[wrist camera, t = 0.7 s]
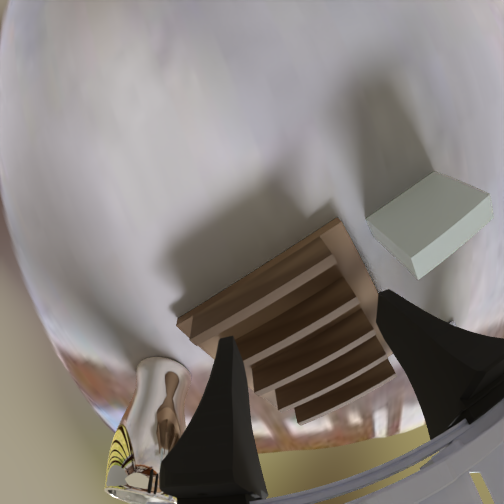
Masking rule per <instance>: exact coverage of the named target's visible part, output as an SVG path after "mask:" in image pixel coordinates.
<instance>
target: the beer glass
mask: <svg viewBox="0 0 504 504" xmlns="http://www.w3.org/2000/svg"><path fill="white" fill-rule="evenodd" d="M190 384H191V375H190V373H189V371H188V370H187V369H186V368H185V367H184V366H183V365H181V364H180V363H178V362H176V361H174V360H172V359H169V358H164V357H149V358H146V359H144V360H142V361H141V362H140V363H139V364H138V366H137V371H136V386H135V391H134V394H133V397H132V399H131V401H130V403H129V406H128V407H127V409H126V411H125V413H124V415H123V417H122V419H121V421H120V423H119V425H118V428H117V430H116V432H115V435H114V437H113V441H112V444H111V448H110V452H109V457H108V463H107V471H106V481H105V488H104V490H105V492H106V493H107V494H109V495H110V496H112V497H114V498H117V499H119V500H121V501H124V502H127V503H130V504H146V503H147V502H165V503H176V504H177V498H175V497H173V496H170V495H168V494H166V493H164V492H162V491H161V490H160V489H159V472H160V466H161V461H162V460H163V459H164V458H165V457H166V455H167V454H168V453H169V452H170V450H171V449H172V448H173V447H174V445H175V444H176V443H177V441H178V440H179V438H180V437H181V435H182V434H183V432H184V431H185V429H186V424H185V414H184V405H185V399H186V395H187V392H188V390H189V387H190Z"/></svg>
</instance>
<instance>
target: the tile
mask: <svg viewBox="0 0 504 504" xmlns="http://www.w3.org/2000/svg"><path fill="white" fill-rule="evenodd" d="M493 217H494V216H493V209H492V202H491V196H490V194H489V193H487V192H485V191H482V190H480V189H478V188H475V187H473V186H471V185H468V184H466V183H464V182H461V181H459V180H456V179H454V178H451V177H449V176H446V175H443V174H441V173H438V172H435V171H434V172H432V173H431V174H429V175H428V176H427V177H425V178H424V179H422V180H421V181H420V182H418V183H417V184H415V185H414V186H413V187H411V188H410V189H408V190H407V191H405V192H404V193H402V194H401V195H400V196H398V197H397V198H395V199H394V200H392V201H391V202H389V203H388V204H387V205H385V206H384V207H382V208H381V209H379V210H378V211H376V212H375V213H373V214H372V215H370V216H369V217H367V218H366V221H367V223H368V226H369V228H370V230H371V232H372V234H373V236H374V238H375V239H376V240H377V241H378V242H379V243H380V244H382V245H383V246H384V247H385V248H386V249H387V250H388V251H389V252H390V253H391V254H392V255H393V256H394V257H395V258H396V259H397V260H398V261H399V262H400V263H401V264H402V265H403V266H404V267H405V268H406V269H407V270H408V271H409V272H410V273H411V274H412V275H413V276H414V277H415V278H416V279H417V280H419V279H420V278H422V277H423V276H424V275H426V274H427V273H428V272H430V271H431V270H432V269H434V268H435V267H436V266H438V265H439V264H440V263H441V262H443V261H444V260H445V259H446V258H448V257H449V256H450V255H451V254H453V253H454V252H455V251H456V250H457V249H459V248H460V247H461V246H462V245H463V244H465V243H466V242H467V241H468V240H469V239H470V238H471V237H473V236H474V235H475V234H476V233H477V232H478V231H479V230H481V229H482V228H483V227H484V226H485V225H486V224H487V223H488V222H489V221H490V220H491V219H492V218H493Z"/></svg>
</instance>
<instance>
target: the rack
mask: <svg viewBox="0 0 504 504" xmlns="http://www.w3.org/2000/svg"><path fill="white" fill-rule="evenodd" d="M377 305H378V292H377V290H376V288H375V286H374V284H373V282H372V280H371V278H370V275H369V273H368V271H367V269H366V267H365V265H364V263H363V261H362V259H361V257H360V255H359V253H358V251H357V249H356V248H355V246H354V244H353V242H352V240H351V238H350V236H349V234H348V232H347V231H346V229H345V227H344V225H343V223H342V221H340V220H339V219H338V218H335V219H334V220H332V221H331V222H329V223H328V224H326V225H325V226H323V227H321V228H320V229H318V230H317V231H315V232H314V233H312V234H311V235H309V236H308V237H306V238H305V239H303V240H301V241H300V242H298V243H297V244H295V245H294V246H292V247H291V248H289V249H288V250H286V251H284V252H283V253H281V254H280V255H278V256H277V257H275V258H274V259H272V260H270V261H269V262H267V263H266V264H264V265H263V266H261V267H259V268H258V269H256V270H255V271H253V272H252V273H250V274H248V275H247V276H245V277H244V278H242V279H240V280H239V281H237V282H236V283H234V284H233V285H231V286H229V287H228V288H226V289H225V290H223V291H221V292H220V293H218V294H217V295H215V296H213V297H212V298H210V299H209V300H207V301H205V302H204V303H202V304H201V305H199V306H197V307H196V308H194V309H193V310H191V311H189V312H188V313H186V314H184V315H183V316H181V317H180V318H178V319H177V324H176V326H177V327H178V328H179V329H180V330H181V331H182V332H183V333H184V334H186V335H187V336H188V337H189V338H190V341H191V342H192V343H194V344H195V345H196V346H197V345H198V346H199V347H200V348H201V349H203V350H204V351H205V352H206V353H207V354H208V355H210V356H211V357H212V358H213V359H214V360H215V357H216V352H217V347H218V341H219V339H220V338H224V337H229V336H233V337H234V339H235V342H236V345H237V347H238V350H239V352H240V355H241V357H242V360H243V362H244V367H245V372H246V377H247V383H248V387H249V388H251V389H252V390H253V391H254V393H255V394H257V395H258V396H261V397H263V398H264V399H265V400H267V401H268V402H269V403H271V404H272V405H274V406H275V407H276V408H278V410H279V411H280V412H282V413H283V412H285V411H288V410H290V409H292V408H295V413H296V418H297V423H298V424H299V425H303V424H306V423H308V422H311V421H313V420H315V419H317V418H320V417H322V416H324V415H326V414H328V413H331V412H333V411H335V410H337V409H339V408H341V407H343V406H345V405H347V404H349V403H351V402H353V401H355V400H357V399H359V398H361V397H362V396H364V395H366V394H368V393H370V392H372V391H373V390H375V389H377V388H379V387H380V386H382V385H384V384H385V383H387V382H389V381H390V380H392V379H394V378H395V377H397V375H396V373H395V371H394V369H393V367H392V366H391V364H390V362H389V360H388V357H389V356H390V355H392V354H393V352H392V351H391V349H390V348H389V346H388V344H387V343H386V341H385V340H384V338H383V336H382V334H381V332H380V330H379V328H378V326H377V324H376V315H377Z"/></svg>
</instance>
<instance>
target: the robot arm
mask: <svg viewBox="0 0 504 504" xmlns="http://www.w3.org/2000/svg"><path fill="white" fill-rule="evenodd" d="M376 324H377V326H378V328H379V330H380V332H381V334H382V336H383V338H384V340H385V341H386V343H387V344H388V346H389V348H390V349H391V351H392V352H393V354H394V355H395V357H396V358H397V360H398V361H399V363H400V365H401V366H402V368H403V369H404V371H405V373H406V374H407V376H408V378H409V380H410V383H411V385H412V387H413V389H414V391H415V394H416V396H417V399H418V401H419V404H420V406H421V409H422V412H423V415H424V418H425V421H426V425H427V428H428V432H429V435H430V441H428V442H427V443H425V444H423V445H421V446H419V447H417V448H416V449H414V450H412V451H410V452H408V453H406V454H404V455H402V456H400V457H397V458H395V459H393V460H391V461H389V462H387V463H384V464H382V465H380V466H377V467H375V468H372V469H370V470H367V471H365V472H362V473H360V474H357V475H355V476H352V477H349V478H346V479H343V480H340V481H337V482H334V483H331V484H327V485H324V486H321V487H317V488H313V489H310V490H306V491H302V492H298V493H293V494H289V495H284V496H280V497H274V498H268V499H266V498H267V496H268V493H267V489H266V486H265V482H264V478H263V474H262V470H261V466H260V462H259V458H258V453H257V449H256V445H255V440H254V435H253V430H252V424H251V416H250V405H249V393H248V383H247V377H246V372H245V367H244V362H243V360H242V357H241V355H240V352H239V350H238V347H237V345H236V342H235V339H234V337H233V336H229V337H224V338H220V339H219V341H218V347H217V352H216V357H215V361H214V364H213V368H212V371H211V375H210V378H209V381H208V383H207V386H206V389H205V392H204V394H203V397H202V399H201V401H200V403H199V406H198V408H197V410H196V412H195V414H194V415H193V417H192V419H191V421H190V423H189V425H188V426H187V428H186V429H185V431H184V432H183V434H182V435H181V437H180V438H179V440H178V441H177V443H176V444H175V445H174V447H173V448H172V449H171V450H170V452H169V453H168V454H167V455H166V457H165V458H164V459H163V460H162V461H161V466H160V472H159V489H160V490H161V491H162V492H164V493H166V494H168V495H170V496H173V497H175V498H177V504H313V503H317V502H321V501H324V500H328V499H331V498H334V497H337V496H341V495H343V494H347V493H350V492H352V491H355V490H358V489H361V488H363V487H366V486H368V485H371V484H373V483H375V482H378V481H381V480H383V479H385V478H388V477H390V476H392V475H394V474H396V473H398V472H400V471H403V470H405V469H406V468H408V467H410V466H413V465H414V464H416V463H418V462H420V461H422V460H424V459H426V458H427V457H429V456H431V455H432V454H434V453H436V452H438V451H439V453H437V454H436V455H434V456H433V457H432V458H431V459H430V460H429V461H428V462H427V463H426V464H424V465H423V466H422V467H421V468H420V471H418V472H416V473H414V474H412V475H410V476H408V477H406V478H404V479H402V480H400V481H398V482H396V483H393V484H391V485H389V486H387V487H385V488H382V489H380V490H378V491H376V492H373V493H371V494H368V495H366V496H363V497H361V498H358V499H356V500H353V501H350V502H348V503H345V504H483V503H482V500H481V498H480V496H479V493H478V491H477V489H476V487H475V484H474V482H473V480H472V478H471V476H470V474H469V473H476V472H477V473H481V475H482V477H483V480H484V482H485V484H486V486H487V488H488V490H489V492H490V494H491V496H492V499H493V501H494V503H495V504H504V339H503V338H496V337H490V336H485V335H481V334H477V333H473V332H470V331H467V330H464V329H461V328H459V327H456V323H455V322H454V321H452V322H450V323H447V322H445V321H443V320H440V319H439V318H437V317H435V316H433V315H431V314H429V313H427V312H426V311H424V310H422V309H420V308H419V307H417V306H415V305H414V304H412V303H411V302H409V301H407V300H406V299H404V298H403V297H401V296H399V295H398V294H396V293H394V292H393V291H391V290H389V289H388V290H385V291H382V292H380V293H378V305H377V315H376ZM146 504H176V503H165V502H147V503H146Z"/></svg>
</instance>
